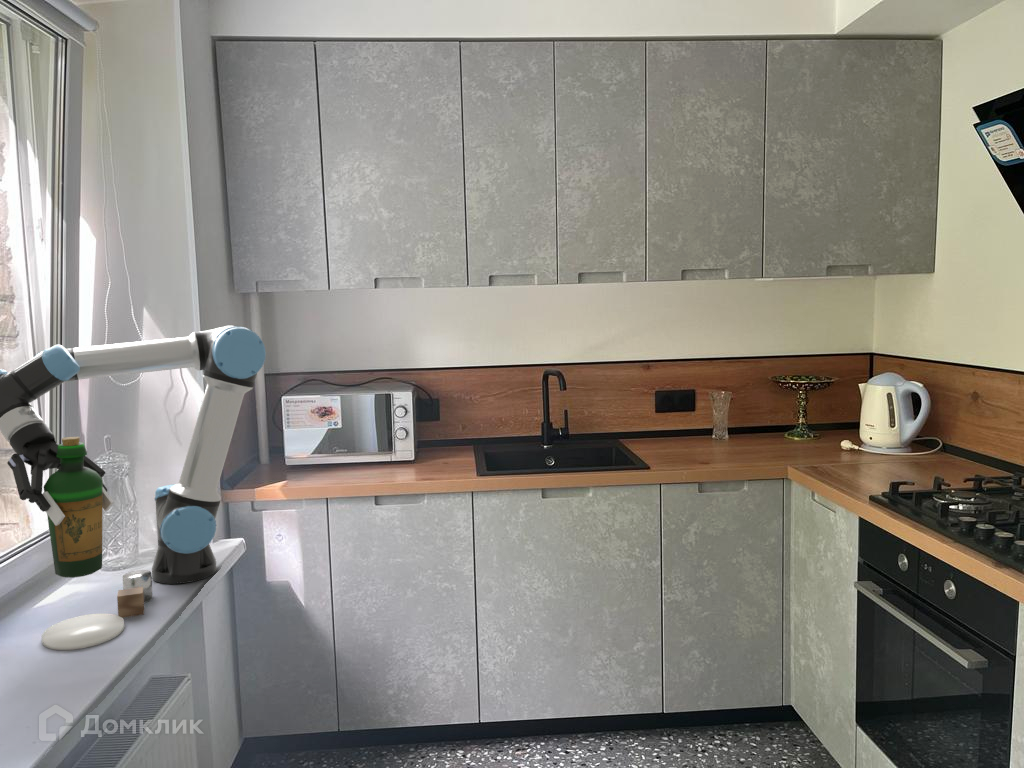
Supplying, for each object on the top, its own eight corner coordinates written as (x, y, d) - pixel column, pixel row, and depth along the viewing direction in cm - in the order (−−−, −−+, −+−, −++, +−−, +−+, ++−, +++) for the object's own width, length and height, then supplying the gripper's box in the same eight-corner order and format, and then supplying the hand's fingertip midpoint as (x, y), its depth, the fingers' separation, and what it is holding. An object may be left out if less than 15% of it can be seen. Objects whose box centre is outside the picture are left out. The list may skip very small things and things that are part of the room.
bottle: (76, 583, 153) (67, 444, 150) (36, 577, 157) (27, 441, 154) (120, 566, 163) (112, 435, 160) (82, 560, 167) (74, 432, 163)
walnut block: (144, 608, 175) (143, 586, 174) (143, 614, 171) (142, 593, 171) (119, 611, 173) (118, 590, 172) (118, 618, 169) (117, 596, 169)
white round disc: (126, 614, 171) (126, 609, 171) (121, 642, 157) (121, 636, 157) (48, 625, 165) (47, 620, 165) (36, 655, 152) (35, 649, 151)
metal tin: (153, 593, 184) (151, 568, 183) (152, 602, 178) (150, 577, 177) (124, 596, 181) (123, 572, 181) (123, 606, 176) (121, 580, 175)
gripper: (-22, 430, 149) (40, 517, 145) (84, 413, 171) (141, 488, 167) (-38, 454, 152) (23, 541, 148) (68, 435, 173) (124, 510, 169)
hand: (85, 513), depth 157 cm, fingers closed on bottle, 11 cm apart
